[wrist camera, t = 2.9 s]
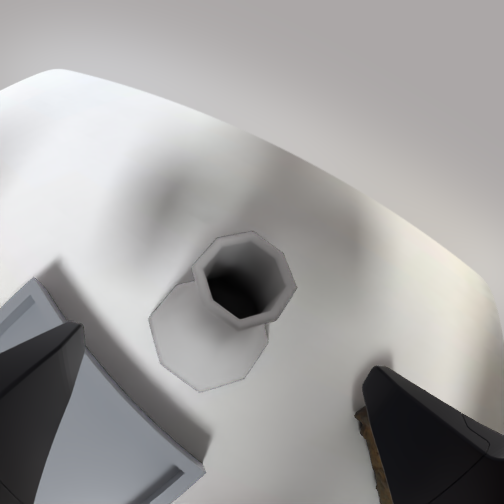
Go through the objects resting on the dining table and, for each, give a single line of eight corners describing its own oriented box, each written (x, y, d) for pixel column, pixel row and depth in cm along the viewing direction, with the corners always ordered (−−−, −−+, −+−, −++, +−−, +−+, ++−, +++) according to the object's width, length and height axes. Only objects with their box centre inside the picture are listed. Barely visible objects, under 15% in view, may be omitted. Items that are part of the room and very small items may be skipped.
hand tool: (343, 410, 18) (385, 412, 14) (385, 392, 19) (427, 387, 15) (370, 573, 11) (400, 590, 6) (404, 552, 12) (436, 564, 8)
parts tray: (69, 562, 7) (62, 574, 5) (-62, 402, 9) (-76, 400, 7) (202, 463, 14) (206, 472, 12) (45, 287, 16) (33, 276, 14)
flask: (285, 345, 19) (381, 303, 10) (196, 412, 15) (223, 445, 7) (221, 259, 20) (262, 159, 11) (129, 314, 17) (89, 240, 8)
